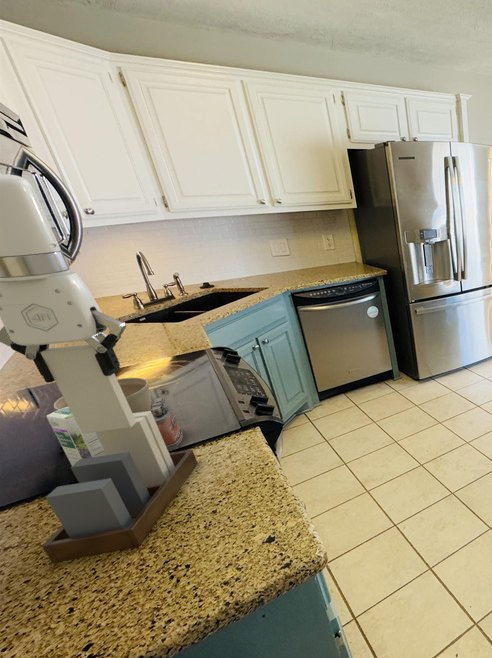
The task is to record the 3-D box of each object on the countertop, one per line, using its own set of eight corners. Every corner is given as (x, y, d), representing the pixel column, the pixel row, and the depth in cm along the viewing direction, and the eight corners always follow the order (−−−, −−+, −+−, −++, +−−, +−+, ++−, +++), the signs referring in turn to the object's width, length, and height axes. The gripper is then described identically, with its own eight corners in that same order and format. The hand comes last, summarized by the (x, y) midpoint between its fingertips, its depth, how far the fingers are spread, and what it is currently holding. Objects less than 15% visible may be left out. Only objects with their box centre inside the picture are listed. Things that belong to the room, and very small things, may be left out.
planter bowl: (82, 429, 100) (62, 389, 96) (165, 409, 109) (149, 372, 105) (68, 460, 88) (44, 417, 84) (162, 435, 97) (144, 394, 93)
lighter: (179, 446, 93) (163, 408, 89) (161, 451, 91) (143, 412, 87) (184, 430, 99) (170, 393, 95) (167, 434, 97) (151, 397, 93)
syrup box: (76, 477, 83) (42, 415, 77) (108, 460, 88) (79, 401, 82) (97, 481, 82) (64, 419, 76) (128, 463, 87) (100, 404, 81)
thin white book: (82, 434, 69) (39, 352, 63) (89, 428, 71) (48, 348, 65) (131, 427, 71) (94, 347, 65) (136, 422, 73) (101, 343, 67)
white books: (126, 494, 78) (92, 427, 72) (137, 481, 81) (106, 416, 75) (168, 487, 80) (139, 421, 74) (178, 474, 83) (151, 410, 77)
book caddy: (52, 563, 64) (41, 546, 62) (133, 473, 84) (126, 459, 82) (140, 545, 66) (131, 529, 65) (197, 463, 87) (192, 449, 85)
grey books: (77, 551, 66) (41, 492, 61) (109, 513, 73) (80, 459, 68) (129, 541, 67) (98, 483, 62) (155, 505, 75) (129, 451, 70)
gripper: (-72, 275, 54) (-1, 393, 62) (86, 266, 59) (134, 378, 66) (-22, 266, 61) (36, 373, 68) (116, 259, 65) (157, 361, 72)
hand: (84, 375), depth 67 cm, fingers closed on thin white book, 7 cm apart
